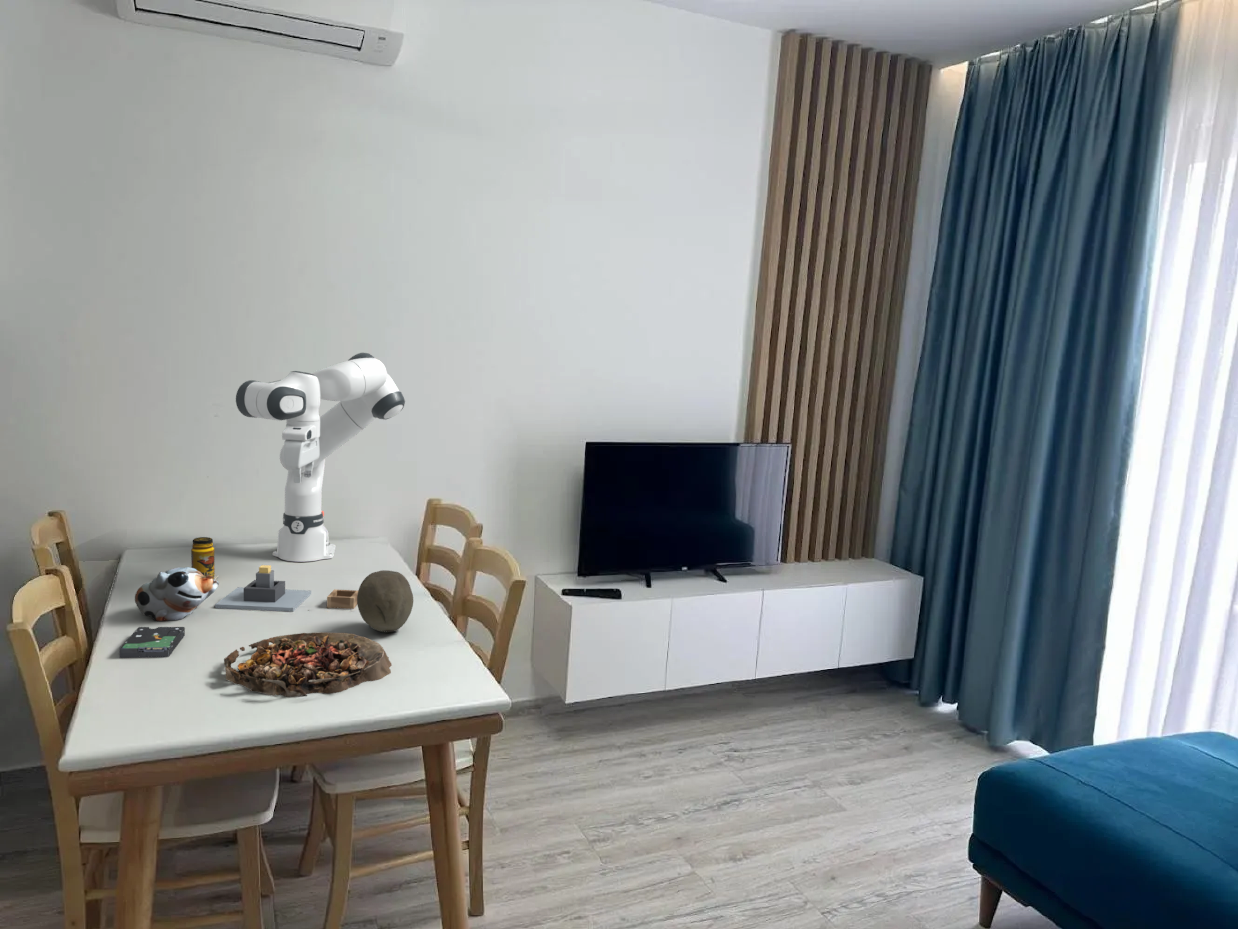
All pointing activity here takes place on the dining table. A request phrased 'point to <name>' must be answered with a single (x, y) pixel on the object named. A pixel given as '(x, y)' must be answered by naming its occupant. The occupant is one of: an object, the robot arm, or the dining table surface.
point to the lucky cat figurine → (174, 593)
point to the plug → (265, 577)
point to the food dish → (309, 664)
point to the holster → (342, 599)
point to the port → (264, 598)
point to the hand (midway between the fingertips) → (302, 479)
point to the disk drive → (152, 642)
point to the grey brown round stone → (385, 600)
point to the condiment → (203, 556)
